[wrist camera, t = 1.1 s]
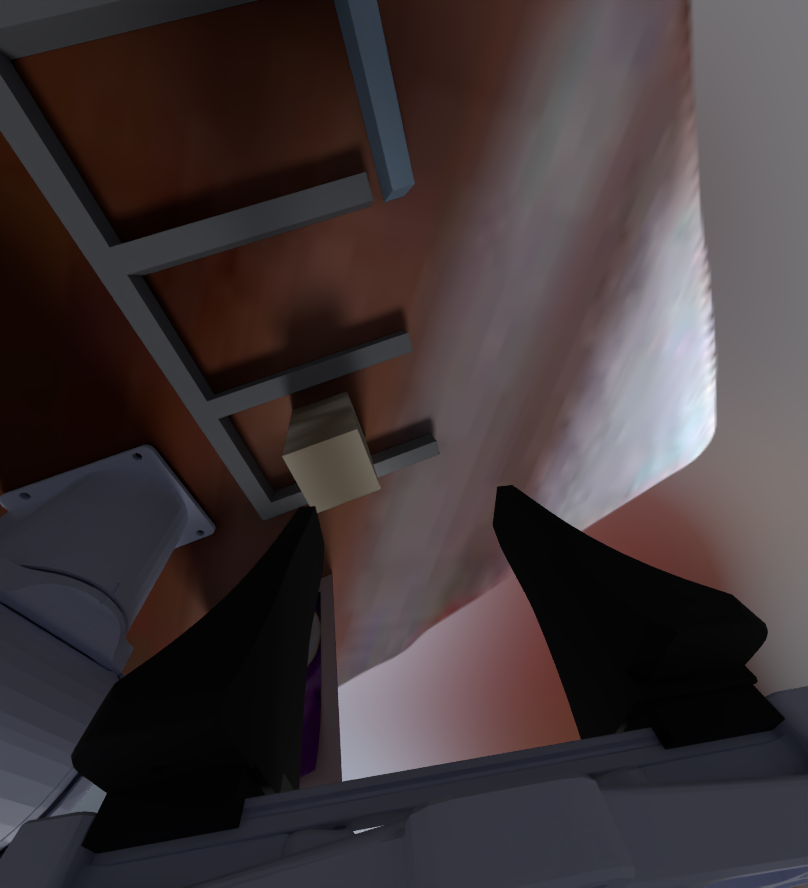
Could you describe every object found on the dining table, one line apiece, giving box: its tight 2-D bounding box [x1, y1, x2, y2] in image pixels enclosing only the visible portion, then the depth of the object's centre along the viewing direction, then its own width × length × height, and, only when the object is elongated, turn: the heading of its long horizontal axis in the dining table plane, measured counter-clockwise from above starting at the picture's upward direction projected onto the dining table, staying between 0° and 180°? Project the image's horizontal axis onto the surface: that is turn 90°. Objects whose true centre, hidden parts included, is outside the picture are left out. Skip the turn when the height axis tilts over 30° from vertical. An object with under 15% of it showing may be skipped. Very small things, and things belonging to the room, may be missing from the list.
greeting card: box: [299, 574, 342, 789], centre depth 24 cm, size 11×7×15 cm, turn 107°
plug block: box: [282, 391, 381, 513], centre depth 20 cm, size 4×4×7 cm
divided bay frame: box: [0, 0, 440, 521], centre depth 18 cm, size 16×26×2 cm, turn 16°
